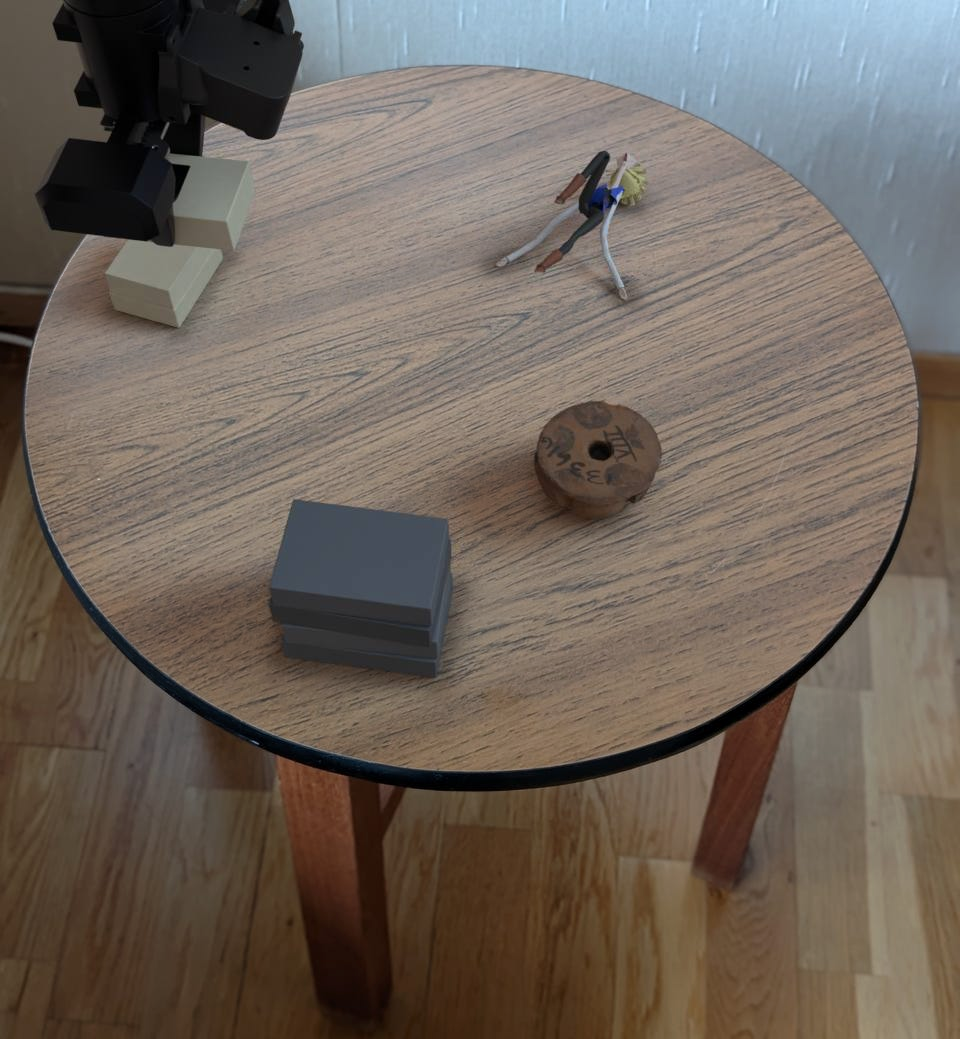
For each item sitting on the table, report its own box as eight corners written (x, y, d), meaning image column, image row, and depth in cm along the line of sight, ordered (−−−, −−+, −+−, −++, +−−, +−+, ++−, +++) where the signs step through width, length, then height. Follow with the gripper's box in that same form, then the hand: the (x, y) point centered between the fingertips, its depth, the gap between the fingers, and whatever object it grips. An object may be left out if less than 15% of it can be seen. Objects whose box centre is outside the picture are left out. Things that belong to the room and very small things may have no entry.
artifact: (613, 427, 87) (620, 378, 83) (676, 512, 83) (687, 466, 79) (510, 473, 85) (512, 425, 81) (570, 562, 81) (575, 517, 77)
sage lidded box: (179, 328, 92) (169, 292, 89) (114, 310, 93) (102, 273, 90) (223, 258, 95) (215, 221, 92) (160, 241, 96) (150, 204, 93)
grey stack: (280, 659, 78) (261, 590, 71) (304, 567, 81) (288, 493, 75) (437, 681, 77) (433, 613, 70) (455, 587, 80) (453, 514, 74)
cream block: (103, 237, 79) (92, 207, 77) (129, 178, 81) (119, 147, 79) (234, 251, 78) (226, 221, 76) (256, 191, 80) (249, 160, 78)
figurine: (668, 269, 104) (542, 386, 90) (587, 194, 104) (448, 300, 91) (746, 176, 96) (619, 289, 83) (657, 96, 97) (517, 195, 83)
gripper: (224, 125, 61) (271, 349, 74) (319, -112, 70) (345, 122, 84) (-10, 98, 62) (77, 324, 75) (116, -132, 72) (173, 103, 85)
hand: (178, 212), depth 79 cm, fingers closed on cream block, 5 cm apart
